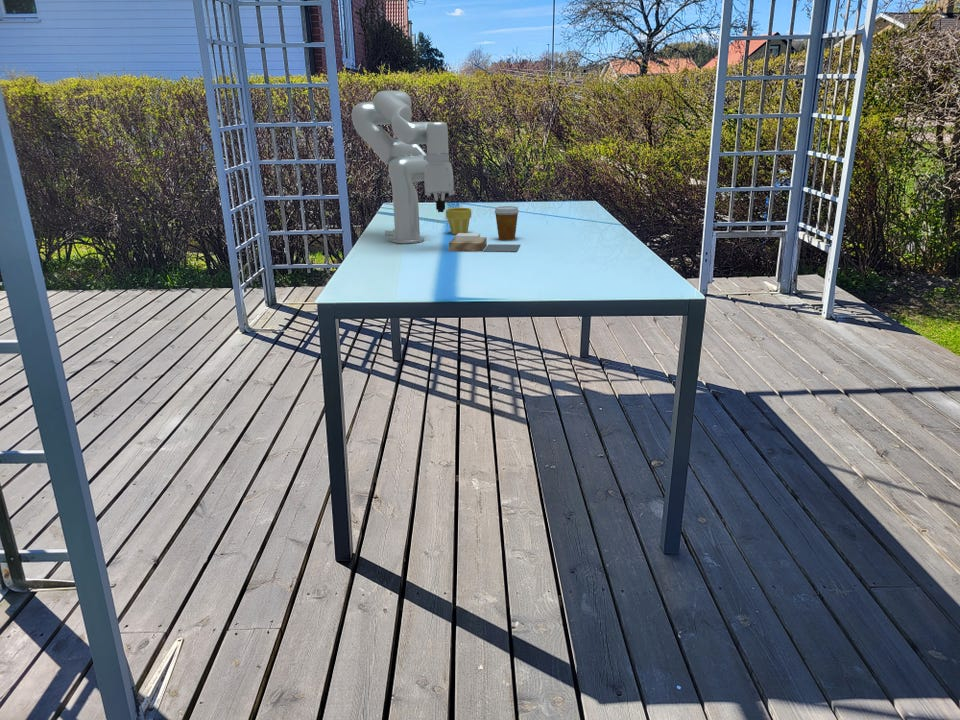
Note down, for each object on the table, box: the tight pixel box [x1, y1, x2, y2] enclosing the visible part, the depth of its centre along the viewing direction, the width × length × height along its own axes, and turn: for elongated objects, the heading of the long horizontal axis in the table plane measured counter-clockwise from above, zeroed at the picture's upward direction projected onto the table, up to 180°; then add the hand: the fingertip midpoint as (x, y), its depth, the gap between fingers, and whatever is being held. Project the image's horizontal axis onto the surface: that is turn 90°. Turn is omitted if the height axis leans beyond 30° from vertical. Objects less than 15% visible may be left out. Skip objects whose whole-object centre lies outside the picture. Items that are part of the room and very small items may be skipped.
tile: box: [455, 232, 481, 242], centre depth 257 cm, size 8×6×2 cm
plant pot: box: [445, 207, 472, 235], centre depth 289 cm, size 10×10×10 cm
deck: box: [448, 236, 488, 253], centre depth 258 cm, size 12×12×3 cm
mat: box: [482, 243, 521, 253], centre depth 257 cm, size 12×13×1 cm
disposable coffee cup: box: [493, 205, 520, 241], centre depth 273 cm, size 10×10×12 cm
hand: (440, 211), depth 255 cm, fingers closed
